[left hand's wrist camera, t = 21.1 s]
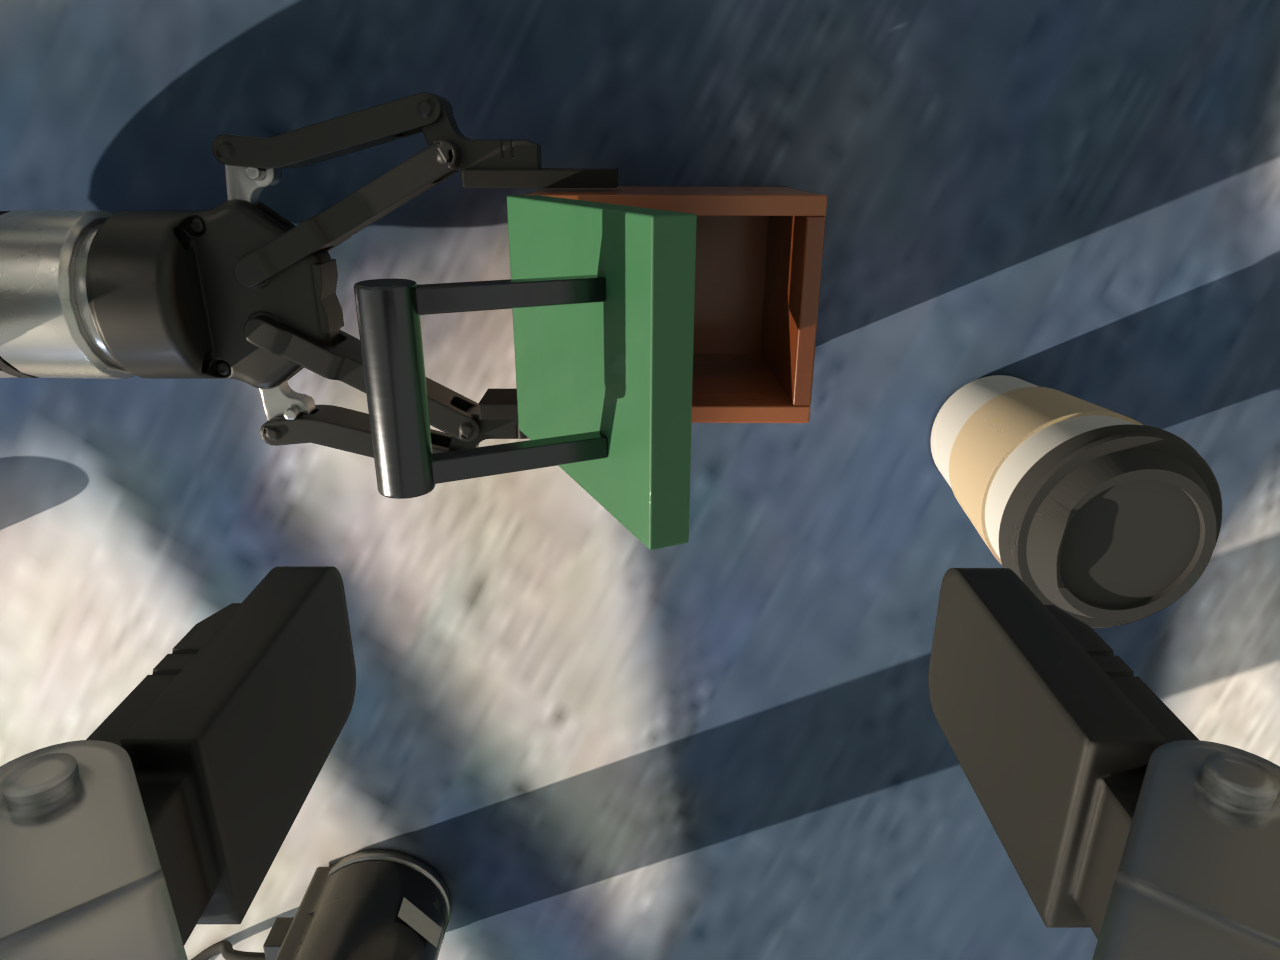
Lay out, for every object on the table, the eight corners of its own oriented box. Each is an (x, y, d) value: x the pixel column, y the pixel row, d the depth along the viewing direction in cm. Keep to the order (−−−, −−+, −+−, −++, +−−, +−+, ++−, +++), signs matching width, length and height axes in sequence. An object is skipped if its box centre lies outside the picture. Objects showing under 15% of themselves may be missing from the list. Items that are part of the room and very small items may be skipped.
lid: (697, 213, 21) (364, 223, 18) (689, 543, 24) (406, 600, 21) (538, 194, 32) (312, 198, 29) (547, 425, 35) (345, 452, 32)
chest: (783, 186, 42) (828, 195, 32) (772, 364, 46) (809, 423, 36) (552, 185, 42) (524, 194, 32) (558, 364, 46) (534, 422, 36)
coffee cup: (1083, 352, 45) (1281, 439, 31) (1059, 505, 49) (1229, 646, 35) (916, 359, 45) (1039, 448, 31) (904, 511, 49) (1011, 654, 35)
